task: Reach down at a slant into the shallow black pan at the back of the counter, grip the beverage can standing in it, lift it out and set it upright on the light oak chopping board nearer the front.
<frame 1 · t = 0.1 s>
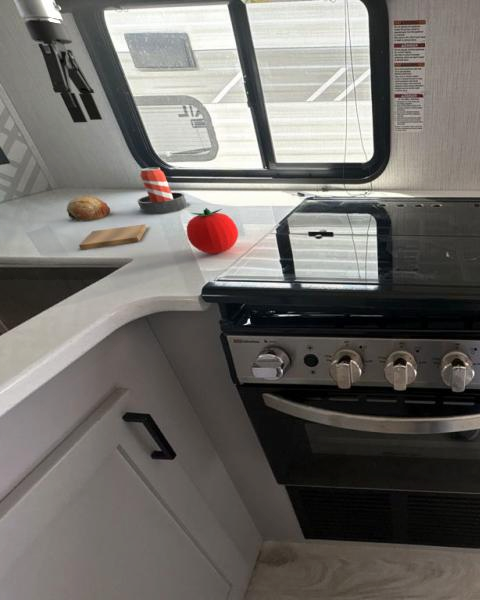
hand: (89, 121, 91), 26 cm above the countertop, tool pointing down, fingers open, 13 cm apart
pan: (165, 207, 111), on the countertop
board: (116, 238, 87), on the countertop
beverage can: (165, 207, 111), resting on pan
bread roll: (92, 216, 104), on the countertop
tomato: (219, 252, 79), on the countertop
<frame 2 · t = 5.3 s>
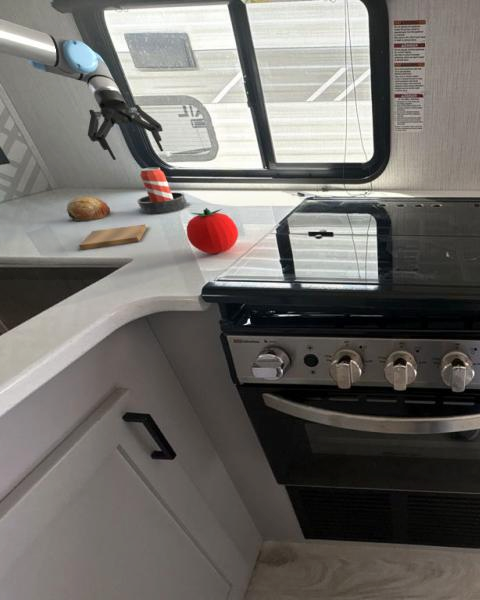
hand: (137, 152, 108), 16 cm above the countertop, tool tilted 45°, fingers open, 13 cm apart
nothing on the countertop moved.
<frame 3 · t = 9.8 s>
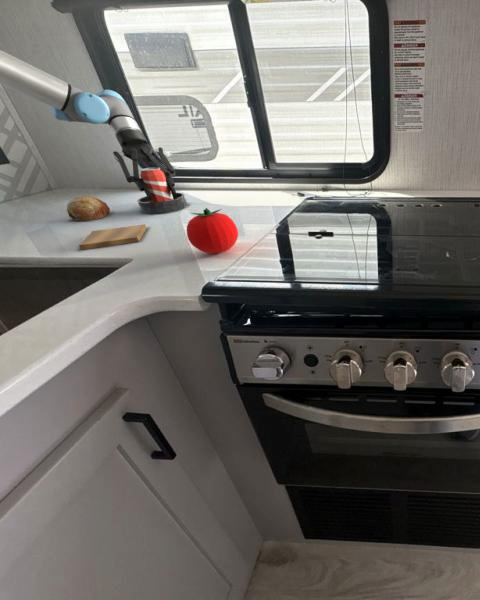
hand: (162, 195, 106), 5 cm above the countertop, tool tilted 45°, fingers closed on beverage can, 6 cm apart
beverage can: (165, 207, 111), resting on pan, touching gripper
everything else where it was.
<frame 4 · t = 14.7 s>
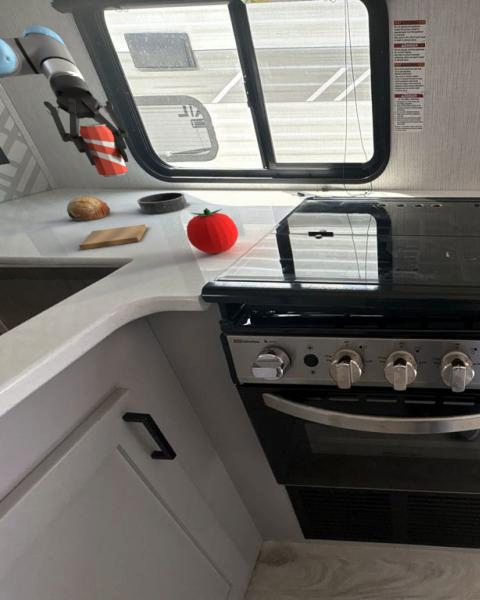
hand: (109, 159, 84), 18 cm above the countertop, tool tilted 45°, fingers closed on beverage can, 6 cm apart
beverage can: (115, 175, 89), point 14 cm above the countertop, touching gripper
everything else where it was.
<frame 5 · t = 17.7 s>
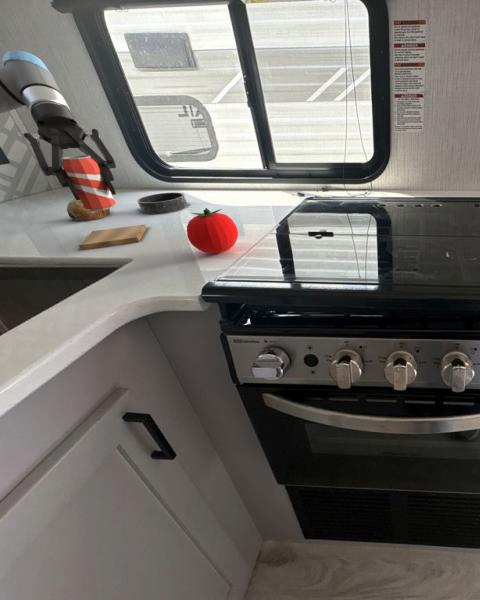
hand: (95, 193, 78), 12 cm above the countertop, tool tilted 45°, fingers closed on beverage can, 6 cm apart
beverage can: (102, 209, 83), point 8 cm above the countertop, touching gripper
everything else where it was.
when the fingers open (5 cm above the countertop, at t = 20.0 s): beverage can stays where it is, resting on board.
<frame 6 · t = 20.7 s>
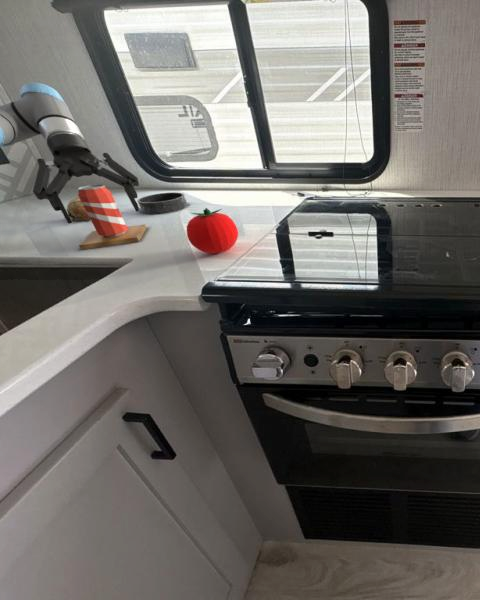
hand: (104, 214, 82), 7 cm above the countertop, tool tilted 45°, fingers open, 13 cm apart
beverage can: (114, 234, 86), point 1 cm above the countertop, touching board
everything else where it was.
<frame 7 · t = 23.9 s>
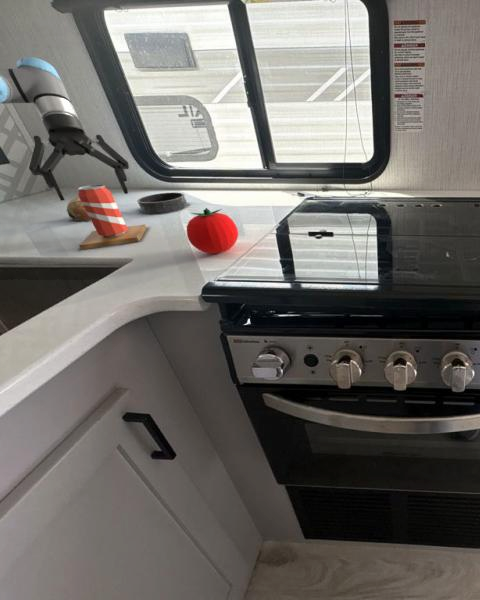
hand: (95, 194, 90), 9 cm above the countertop, tool tilted 35°, fingers open, 13 cm apart
nothing on the countertop moved.
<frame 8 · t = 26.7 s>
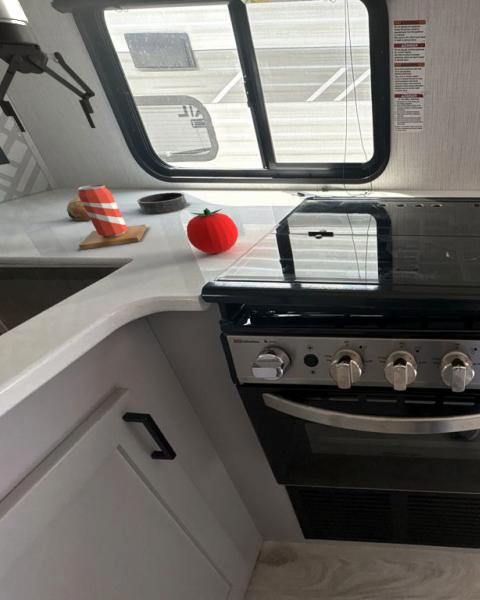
hand: (60, 129, 85), 25 cm above the countertop, tool pointing down, fingers open, 13 cm apart
nothing on the countertop moved.
at the end: beverage can inside the target area on the board (0.0 cm from its centre), point 1.0 cm above the board's base; beverage can tilted 0°; beverage can touching board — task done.
